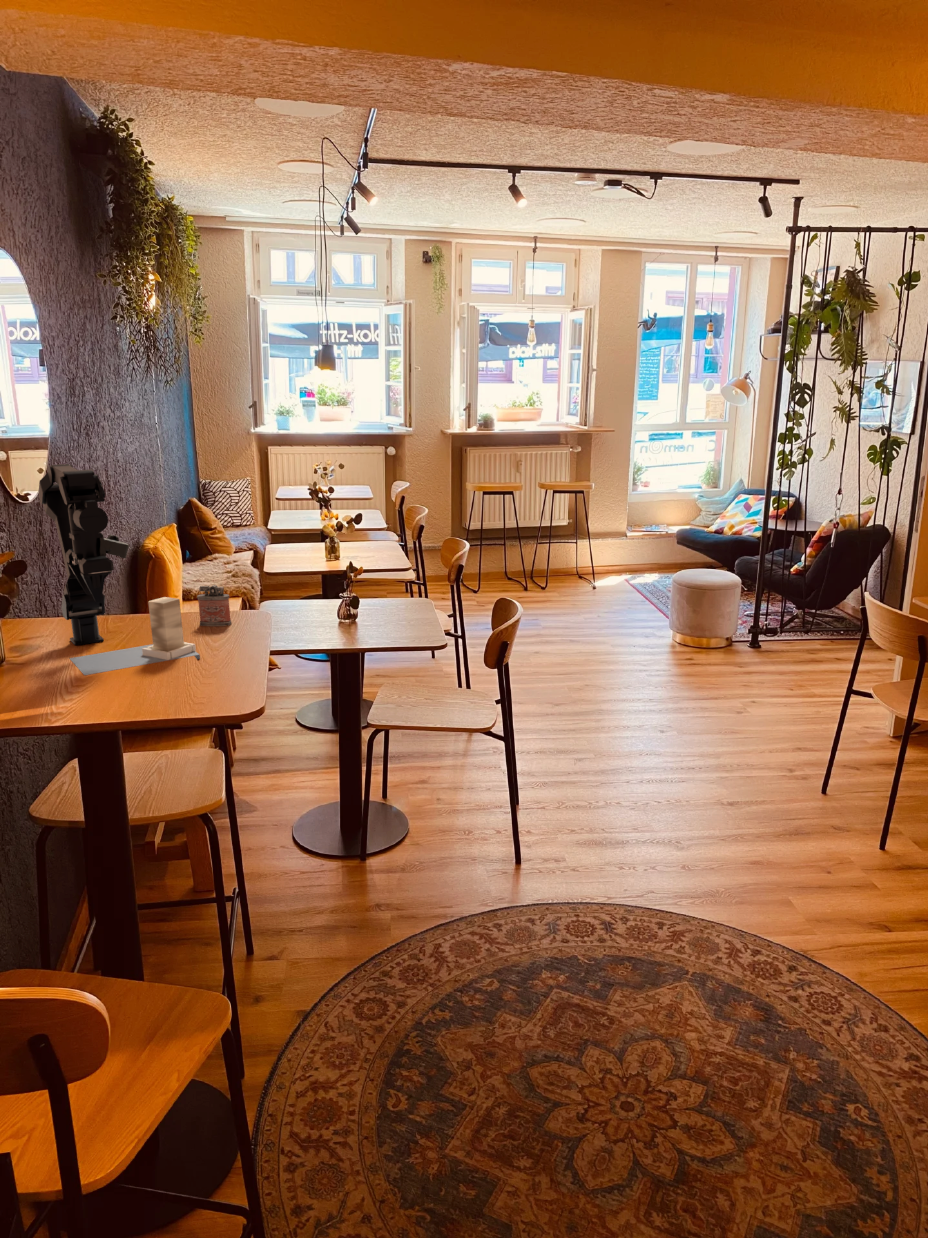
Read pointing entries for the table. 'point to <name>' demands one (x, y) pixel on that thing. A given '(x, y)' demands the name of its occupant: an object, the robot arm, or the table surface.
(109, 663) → the plate
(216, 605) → the lighter
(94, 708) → the table surface
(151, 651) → the socket
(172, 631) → the birch pillar
